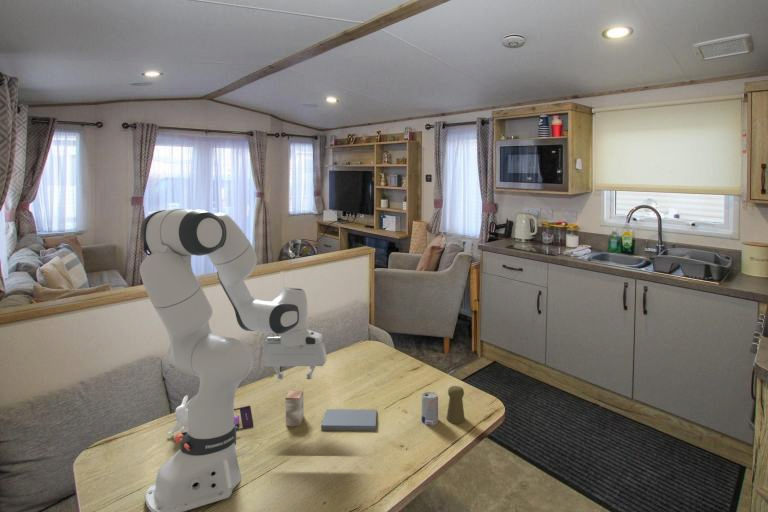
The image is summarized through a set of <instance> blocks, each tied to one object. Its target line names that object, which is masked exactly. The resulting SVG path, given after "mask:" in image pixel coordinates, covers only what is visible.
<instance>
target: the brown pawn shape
mask: <svg viewBox="0 0 768 512" xmlns="http://www.w3.org/2000/svg"><path fill="white" fill-rule="evenodd" d="M464 390H465V389H463V387H461V386H459V385H452V386H449V387H448V389H447V394H448V396H449V400H448V405H447V411H446V412H447V414H446V420H447V422H448V423H450V424H454V425H461V424H464V423H465V422H466V421H465V411H464V402H463V397H464V395H465V391H464Z"/></svg>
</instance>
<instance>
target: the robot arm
mask: <svg viewBox="0 0 768 512" xmlns="http://www.w3.org/2000/svg"><path fill="white" fill-rule="evenodd" d="M140 225H141V227H140V238H141V241H142V244H143V245H142V246H143V249H142V250H143V251H144V253H145V254H146V255H147V257H145V259H143V260H142V262H141V263H140V266H139V274H140V278H141V281H142V284H143V287H144V289H145V292H146V294H147V296H148V298H149V301H150V302H151V304H152V307H153V308H154V309H155V311H156V313H157V314H158V317H159V318H160V320H161V322H162V324H163V325H164V327H165V329H166V332H167V335H168V338H169V342H170V343H169V346H168V349H167V358H168V362H169V363H170V364H171V366H173V367H175V368H176V369H177V370H179V371H180V372H182V373H185V374H187V375H192V376H195V377H198V379H199V388H198V391H197V393H196V394H195V395H194V396H192V398H190V399H191V400H190V399H189V400H190V401H189V400H188V401H189V404H188V407H187V410H188V432H186V434H185V435H183V434H182V433H181V432H180V433H177V434H175V436H174V438H173V440H174V441H175V442H176V444H179V445H180V449H178V451H176V453H175V454H174V455H172V457H170V458H169V459H168V460H167V461H166V462H165V463H163V465H162V466H160V468H159V469H158V471H157V474H156V475H157V476H156V478H155V479H156V480H155V484H153V485H150V487H148V488H147V490H146V492H145V504H146V506H147V508H148V509H149V510H150V511H149V512H186V511H189V510H193V509H196V508H199V507H202V506H206V505H208V504H209V505H210V504H213V503H216V502H219V501H221V500H226V499H228V498H230V497H231V495H232V493H233V490H234V489H235V488H236V487H237V485H239V483H240V482H241V480H242V473H241V469H240V465H239V461H238V456H237V451H236V445H237V430H236V425H235V424H234V415H235V411H234V409H235V399H236V398H235V397H236V393H237V390H238V387H239V385H240V383H241V382H242V381H243V380H244V379H245V378H246V377H248V375H249V374H250V373H251V371H252V369H253V365H254V352H253V350H252V348H251V346H249V345H248V344H246V343H245V342H242V341H240V340H239V339H236V338H234V337H227V336H222V335H219V334H216V333H215V332H213V330H212V329H211V327H210V322H209V321H210V320H211V318H212V316H213V308H212V306H211V303H210V301H209V300H208V297H207V295H206V294H205V292H204V289H203V287H202V286H201V284H200V282H199V280H198V277H197V276H196V275H195V273H194V270H193V266H192V256H197V257H198V256H201V257H202V256H206V255H207V257H208V258H209V260H210V261H211V263H212V264H213V266H214V268H215V269H216V271H217V272H216V274H217V279H218V282H219V283H220V286H221V287H222V289H223V291H224V293H225V295H226V297H227V298H228V300H229V302H230V305H232V307H233V310H234V313H235V318H236V322H237V323H238V324H237V325H239V327H240V328H241V329H243V331H246V332H259V333H264V334H265V333H266V334H273V335H278V334H279V336H272V337H271V336H267V337H266V338H264V339H262V343H261V344H262V345H261V347H262V350H263V353H262V364H263V366H264V367H273V370H274V372H275V373H276V375H277V380H283V379H284V372H281V370H280V368H281V367H309V369H310V371H308V372H307V373H306V380H313V373H314V371H315V369H316V367H323V366H324V365H325V364H326V363H327V351H326V345H325V343H324V342H323V341H322V340H323V334H321V333H320V332H316V331H313V330H311V329H309V326H308V322H307V318H308V313H309V312H308V300H307V298H308V297H307V293H306V292H305V290H304V289H302V288H299V287H298V288H297V287H296V288H295V287H282V288H281V290H280V293H279V294H278V295H277V296H276V297H275V298H274V299H273V300H262V299H259V298H256V297H254V296H253V295H252V294H251V292H250V290H249V288H248V286H247V284H246V282H245V279H247V278H249V276H251V275H252V273H253V272H254V271H255V269H256V267H257V263H258V255H257V253H256V251H255V248H254V247H253V245H252V243H251V242H250V240H249V238H248V237H247V236H246V234H245V233H244V232H243V230H242V229H241V227H240V226H239V225H238V223H236V222H235V220H233V218H232V217H231V216H230V215H229V214H227V213H223V212H215V213H212V212H209V211H207V210H203V209H194V210H193V209H186V208H172V209H167V210H166V209H163V210H162V209H161V210H158V211H155V212H152V213H151V214H148V215H147V216H146V217H145V218H144V219H143V221H142V223H141V224H140Z"/></svg>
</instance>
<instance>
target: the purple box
mask: <svg viewBox="0 0 768 512" xmlns="http://www.w3.org/2000/svg"><path fill="white" fill-rule="evenodd" d="M238 410H239V414H240V415H236V414H234V424H235V425H236V431H240V430H245V429H249V428H254V421H253V414H252V408H251V405H246V406H242V407H237V408H234V412H235V411H238ZM240 420H241V421H240ZM240 422H241V425H242V426H241V428H240V426H239V423H240Z"/></svg>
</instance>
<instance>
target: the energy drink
mask: <svg viewBox="0 0 768 512" xmlns="http://www.w3.org/2000/svg"><path fill="white" fill-rule="evenodd" d="M421 422H422V424H424V425H426V426H436V425H437V424H438V423H439V395H438V394H437V393H436V392H430V391H427V392H424V393H422V395H421Z"/></svg>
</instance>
